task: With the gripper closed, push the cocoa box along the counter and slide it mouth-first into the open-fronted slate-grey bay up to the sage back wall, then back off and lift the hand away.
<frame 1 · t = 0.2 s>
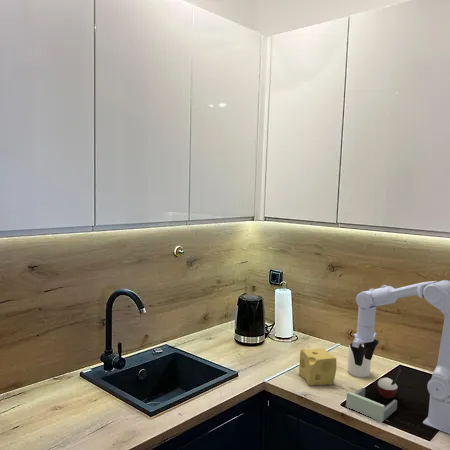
hand: (363, 362, 152), 10 cm above the worktop, tool pointing down, fingers open, 7 cm apart
cheese: (316, 379, 160), on the worktop
cocoa: (386, 396, 149), on the worktop
cup: (356, 371, 168), on the worktop
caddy: (371, 408, 140), on the worktop
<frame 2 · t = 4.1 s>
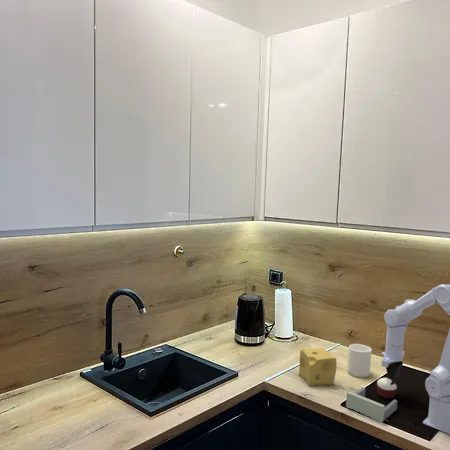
hand: (391, 380, 150), 5 cm above the worktop, tool pointing down, fingers closed
cocoa: (386, 397, 148), on the worktop, touching gripper
everything else where it was.
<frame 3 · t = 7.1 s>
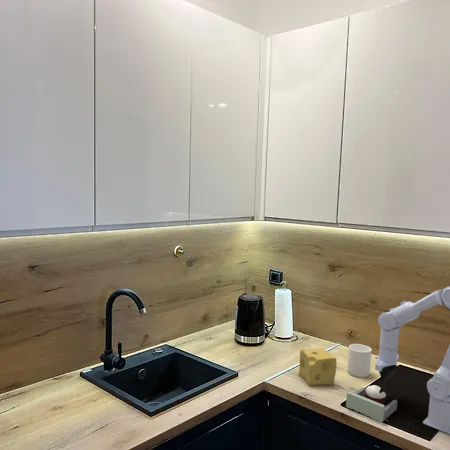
hand: (385, 385, 147), 5 cm above the worktop, tool pointing down, fingers closed
cocoa: (374, 405, 142), on the worktop
everything else where it was.
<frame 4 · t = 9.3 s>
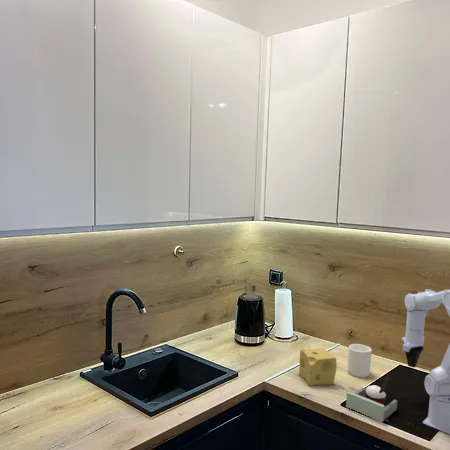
hand: (411, 366, 149), 10 cm above the worktop, tool pointing down, fingers closed
nothing on the worktop moved.
at the end: cocoa 2.7 cm off-centre on the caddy, point 0.0 cm above the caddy's base; cocoa tilted 0° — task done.
